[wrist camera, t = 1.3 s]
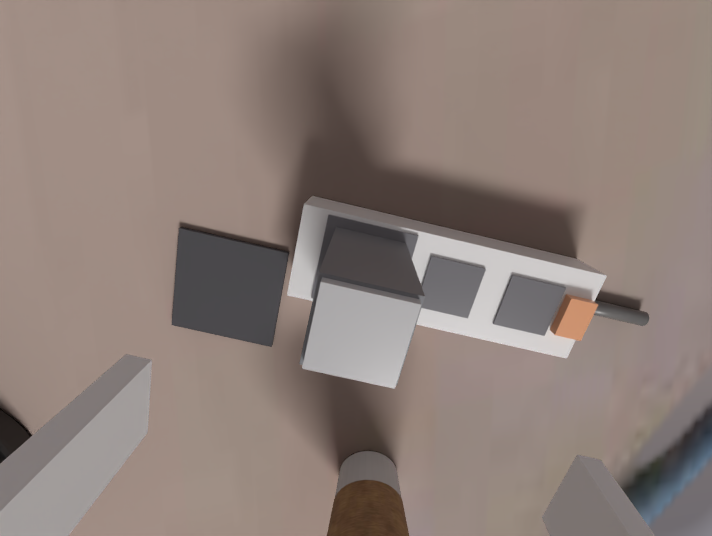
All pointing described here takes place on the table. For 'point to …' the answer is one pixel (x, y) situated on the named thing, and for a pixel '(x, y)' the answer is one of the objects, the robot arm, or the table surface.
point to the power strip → (471, 279)
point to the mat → (228, 286)
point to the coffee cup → (368, 498)
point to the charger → (363, 309)
